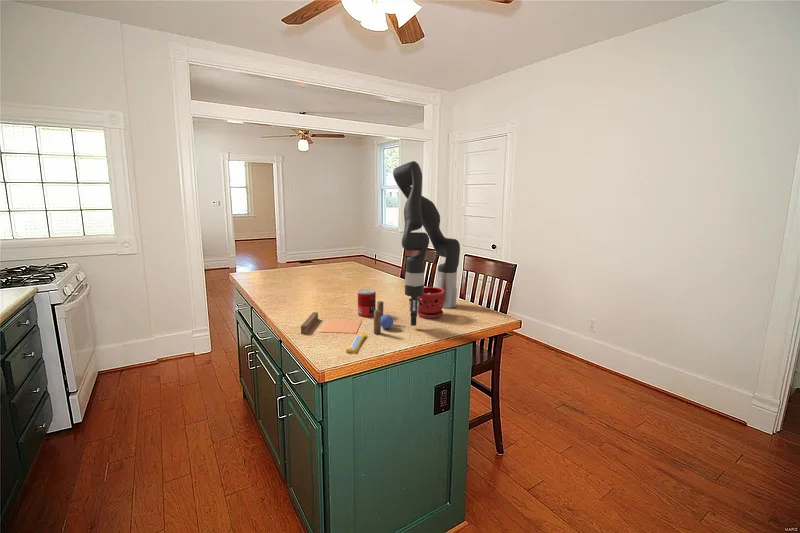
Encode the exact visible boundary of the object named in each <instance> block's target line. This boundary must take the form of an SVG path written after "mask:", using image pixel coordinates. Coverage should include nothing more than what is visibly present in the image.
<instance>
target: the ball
mask: <svg viewBox="0 0 800 533" xmlns="http://www.w3.org/2000/svg"><path fill="white" fill-rule="evenodd" d="M393 325H394V318H393V317H392V316H391V315H390V314H383V316H382V317H381V328H383V329H389V328H391V327H392V326H393Z"/></svg>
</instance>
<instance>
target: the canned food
mask: <svg viewBox="0 0 800 533" xmlns="http://www.w3.org/2000/svg"><path fill="white" fill-rule="evenodd" d="M376 297H377V294H376V290H375V289H371V288H363V289H361V288H360V289H359V290H357V314H358V316H359V317H362V318H372V317H374V310H377V301H376V299H377V298H376Z"/></svg>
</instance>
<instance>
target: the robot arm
mask: <svg viewBox="0 0 800 533" xmlns="http://www.w3.org/2000/svg"><path fill="white" fill-rule="evenodd" d="M392 175H393V176H392V177H393V178H394V181H395V183H396V185H397V187H398V188H399V189H400V191H401V192H402V193H403V195H404V196H405V198H406V202H405V204H404V210H403V218H404V219H403V220H404V229H403V233H402V234H403V235H402V238H401V247H402V248H403V250H404V251H409V252H410V251H416V252H417V251H418V252H417V254H415V255H412V256H411V255H410V256H407V258H406V259H405V260H406V261H405V275H404V295H405V296H407V297H409V299H408V303H409V304H408V305H409V312H410V316H409V317H410V326H413V327H414V326H415V327H416V326H417V317H418V313H417V312H418V305H419V299H417V297H418V296H422V295H423V294H424V287H425V272H424V270H425V259H426V254H427V251H428V248H429V244H430V243H431V245H432V247H433V249H434V252H435V253H436V254H437V255H438V256H440V257H441V258H442V257H443V258H445V261H444V263H440V264H438V266H437V286H436V288H441V289H443V290H444V292H445V298H444V305H443V308H442V309H453V308H456V307H457V295H458V292H457V290H458V288H457V280H458V278H457V275H458V268H459V264H460V254H461V245H460V241H459V240H458V239H456V238H451V237H450V238H449V237H446V236H444V235H443V232H442V230H441V228H440V226H441V225H440V224H441V215H440V212H439V210H438V209H437V207H436V205H435V204H434V203H433V202H434V201H431V200H430V199H429V198H428V197H425V196H423V195H422V193H423V191H422V190H423V173H422V169H421V165H420V164H419V163H418V162H417V161H414V160H413V161H409V162H407V163H405V164H402V165H399V166H397V167H395V168H393V170H392ZM422 227H423V229H424V231H425V232H415V231H417V230H420V229H421V228H422ZM413 231H414V232H413Z"/></svg>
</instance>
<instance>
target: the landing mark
mask: <svg viewBox="0 0 800 533" xmlns="http://www.w3.org/2000/svg"><path fill="white" fill-rule="evenodd" d="M361 323H362V321H361V320H327V322H326V323H325V324H324V326H323V327H322V329H321V331H320V333H331V334H332V333H336V334H338V333H339V334H340V333H341V334H343V333H344V334H358V331H359V328H360V327H361Z"/></svg>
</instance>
